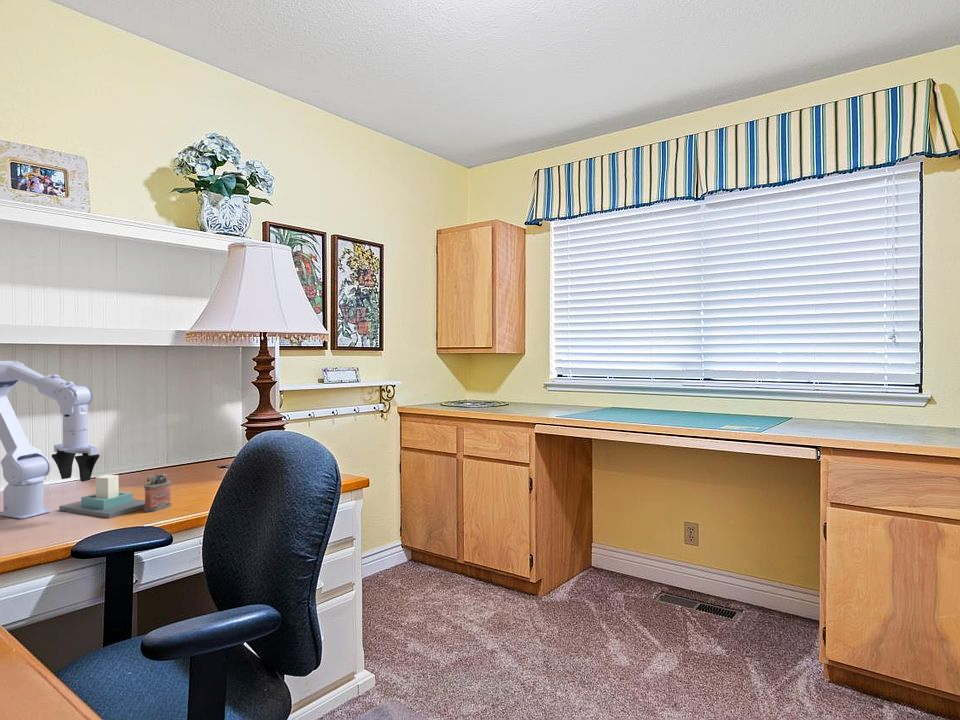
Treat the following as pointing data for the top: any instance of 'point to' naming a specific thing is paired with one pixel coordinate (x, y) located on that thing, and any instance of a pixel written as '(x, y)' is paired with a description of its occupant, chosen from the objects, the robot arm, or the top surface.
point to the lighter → (157, 493)
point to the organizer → (105, 505)
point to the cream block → (107, 486)
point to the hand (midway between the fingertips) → (75, 479)
